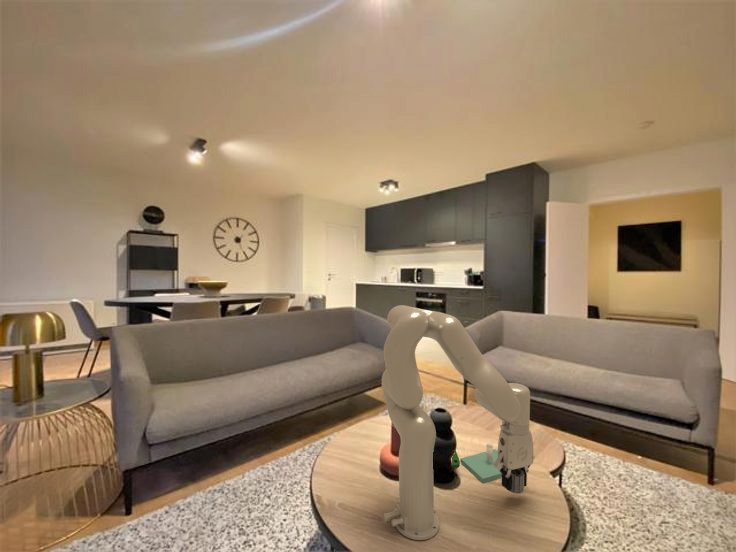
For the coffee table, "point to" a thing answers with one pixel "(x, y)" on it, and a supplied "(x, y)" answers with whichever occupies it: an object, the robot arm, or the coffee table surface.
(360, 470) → the coffee table surface
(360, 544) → the coffee table surface
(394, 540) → the coffee table surface
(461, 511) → the coffee table surface
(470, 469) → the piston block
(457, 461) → the clamp
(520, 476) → the grey ribbed cylinder
